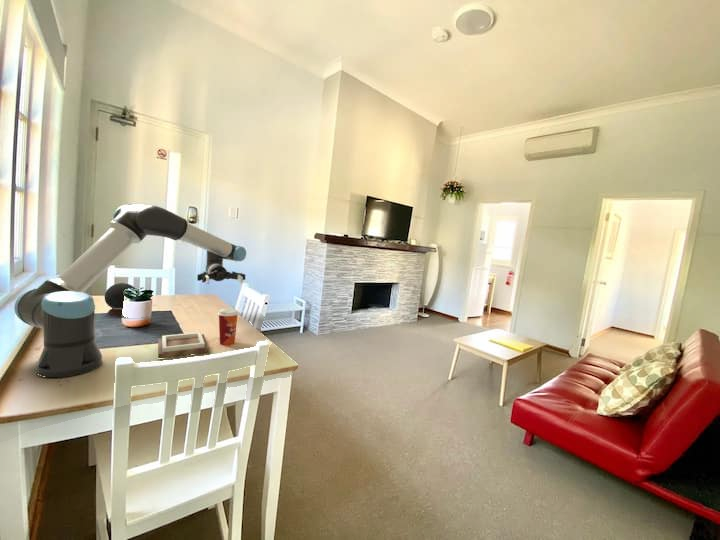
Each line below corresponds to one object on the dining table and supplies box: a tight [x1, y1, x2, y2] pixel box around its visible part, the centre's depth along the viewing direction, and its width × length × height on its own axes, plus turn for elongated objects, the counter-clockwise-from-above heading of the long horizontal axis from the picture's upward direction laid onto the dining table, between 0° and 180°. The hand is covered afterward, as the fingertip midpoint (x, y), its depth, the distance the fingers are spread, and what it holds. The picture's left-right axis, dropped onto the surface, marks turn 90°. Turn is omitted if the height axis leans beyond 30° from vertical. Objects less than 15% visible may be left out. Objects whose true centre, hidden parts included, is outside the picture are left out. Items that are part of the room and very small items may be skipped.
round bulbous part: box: [104, 282, 136, 317], centre depth 152 cm, size 13×13×15 cm
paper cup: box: [217, 307, 239, 346], centre depth 126 cm, size 8×8×14 cm
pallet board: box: [157, 331, 210, 359], centre depth 118 cm, size 16×16×4 cm
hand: (225, 280), depth 134 cm, fingers open, 13 cm apart
